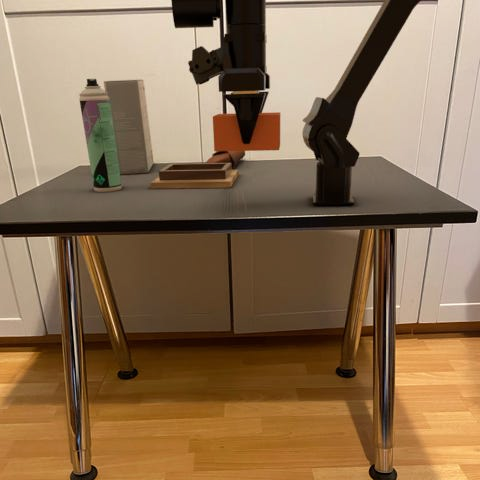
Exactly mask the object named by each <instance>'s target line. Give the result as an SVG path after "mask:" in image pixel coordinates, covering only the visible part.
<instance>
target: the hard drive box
mask: <svg viewBox="0 0 480 480" xmlns="http://www.w3.org/2000/svg"><path fill="white" fill-rule="evenodd" d="M103 87H104V91H105V92H107V93H108V96H109V98H110V106H111V113H112V120H113V127H114V134H115V141H116V149H117V156H118V163H119V170H120V175H132V174H134V175H135V174H148V173H150V170H151V168H152V166H153V165H154V153H153V146H152V145H153V144H152V139H151V137H152V136H151V129H150V122H149V114H148V113H149V112H148V105H147V98H146V97H147V96H146V87H145V81H144V79H142V78H141V79H118V80H117V79H116V80H115V79H114V80H106V81H105V80H104V81H103Z"/></svg>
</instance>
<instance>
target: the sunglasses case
mask: <svg viewBox="0 0 480 480" xmlns="http://www.w3.org/2000/svg"><path fill="white" fill-rule="evenodd" d="M211 155H212V156H211V157H210V158H208V159H207V160H206V161H205V162H204V163H232V170H234V169H235V167H236V166H237V165H238V163H239V162H240V161H241V160H243V158H245V157H246V151H214V152H213V153H212V154H211Z"/></svg>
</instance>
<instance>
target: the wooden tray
mask: <svg viewBox="0 0 480 480" xmlns="http://www.w3.org/2000/svg"><path fill="white" fill-rule="evenodd" d="M239 173H240V171H239V169H232V163H205V162H198V163H194V162H193V163H192V162H191V163H168V164H167V165H166V166H164V167H163V168H161V169H159V171H158V177H157V178H155V179H153V180H152V181H151V182H150V188H151V189H152V190H153V189H155V190H157V189H225V188H226V189H227V188H228V189H229V188H232V186H233V185H234V183H235V181H236V180H237V179H238V177H239Z"/></svg>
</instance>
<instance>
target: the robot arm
mask: <svg viewBox="0 0 480 480" xmlns="http://www.w3.org/2000/svg"><path fill="white" fill-rule="evenodd" d="M170 1H171V11H172V20H173V25H174V28H175V29H195V28H196V29H197V28H198V29H201V28H214V25H215V22H214V21H218V20H221V19H222V11H221V0H170ZM421 1H422V0H384V1H383V2H382V4H381V6H380V8H379V9H378V11H377V13H376V15H375V16H374V19H373V20H372V22H371V24H370V25H369V27H368V29H367V31H366V32H365V34H364V36H363V38H362V40H361V41H360V43H359V44H358V47H357V49H356V50H355V52H354V54H353V56H352V58H351V59H350V60H349V62H348V65H347V66H346V68H345V70H344V72H343V73H342V75H341V77H340V79H339V80H338V82H337V84H336V86H335V88H334V89H333V90H332V91H331V93H330V94H329V95H328V96H327V97H326V98H324V97H319V96H316V97H315V98H314V100H313V103H312V106H311V109H310V111H309V112H308V114H307V115H306V116H305V117H304V118H303V119H302V122H303V123H305V124H304V126H303V128H302V133H301V134H302V139H303V142H304V144H305V146H306V147H307V148H308V149H309V150H311V151H312V152H313V155H314V159H315V160H316V161H318V162H317V163H316V169H315V171H316V173H315V178H316V179H315V194H314V193H313V194H312V205H313V206H353V205H355V201H354V198H353V196H352V194H351V189H352V176H353V168H354V167H356V165H357V162H358V160H359V157H360V151H358V149H356V146H354V145H353V144H352V143H351V142H350V141H349V139H347V138H348V136H349V134H350V131H351V129H352V126H353V122H354V119H355V114H356V111H357V108H358V105H359V102H360V100H361V99H362V98H363V95H364V93H365V92H366V90H367V88H368V87H369V85H370V84H371V82H372V80H373V78H374V76H375V75H376V73H377V71H378V70H379V68H380V66H381V64H382V63H383V61H384V59H385V58H386V56H387V55H388V52H389V51H390V50H391V48H392V46H393V44H394V43H395V41H396V39H397V38H398V36H399V34H400V32H401V30H402V29H403V27H404V26H405V24H406V23H407V20H408V19H409V17H410V15H411V14H412V13H413V10H414V9H415V8H416V6H417V5H418V4H419V3H420V2H421ZM266 2H267V1H266V0H224V3H225V4H224V8H225V32H226V33H224V35H223V36H222V46H220V47H217V48H216V49H212V50H211V51H208V50H207V49H206V48H205V46H202V45H200V46H198V47H196V48H194V49H192V50H191V60H188V62H187V65H188V67H189V68H188V71H189V73H190V74H191V75H192V77H193V79H194V83H195V85H197V86H198V85H199V86H200V85H203V84H206V83H208V82H209V81H210V80H211V79H212V78H215V77H217V76H218V77H217V80H218V81H217V82H218V92H219V93H223V94H222V97H223V98H224V99H225V100H227V101H228V103H229V104H231V105H232V106H233V109H234V114H236V117H237V121H238V125H239V130H240V134H241V138H242V142H243V144H250V142H251V139H252V136H253V132H254V129H255V126H256V123H257V120H258V117H259V113H263V112H264V108H265V105H266V102H267V100H268V97H269V93H270V91H266V90H270V89H271V75H270V74H269V73H268V67H267V66H268V65H267V50H266V49H267V43H268V42H267V41H268V37H267V36H268V35H267V34H266V33H267V26H266V24H267V22H266V21H267V18H266V17H267V14H266V13H267V12H266V11H267V9H266V7H267V3H266ZM224 92H227V93H224ZM228 92H230V93H228Z"/></svg>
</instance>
